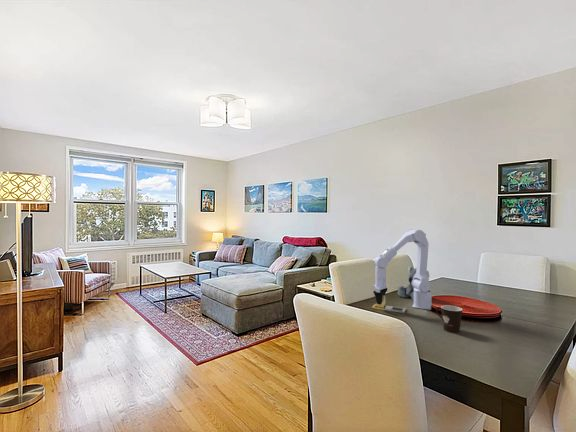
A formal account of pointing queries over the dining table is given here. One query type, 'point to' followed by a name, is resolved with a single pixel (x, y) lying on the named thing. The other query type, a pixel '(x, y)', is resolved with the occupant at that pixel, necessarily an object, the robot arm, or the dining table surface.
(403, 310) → the rail
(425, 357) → the dining table surface
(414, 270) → the koala plush
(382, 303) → the brass block
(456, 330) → the coffee mug
